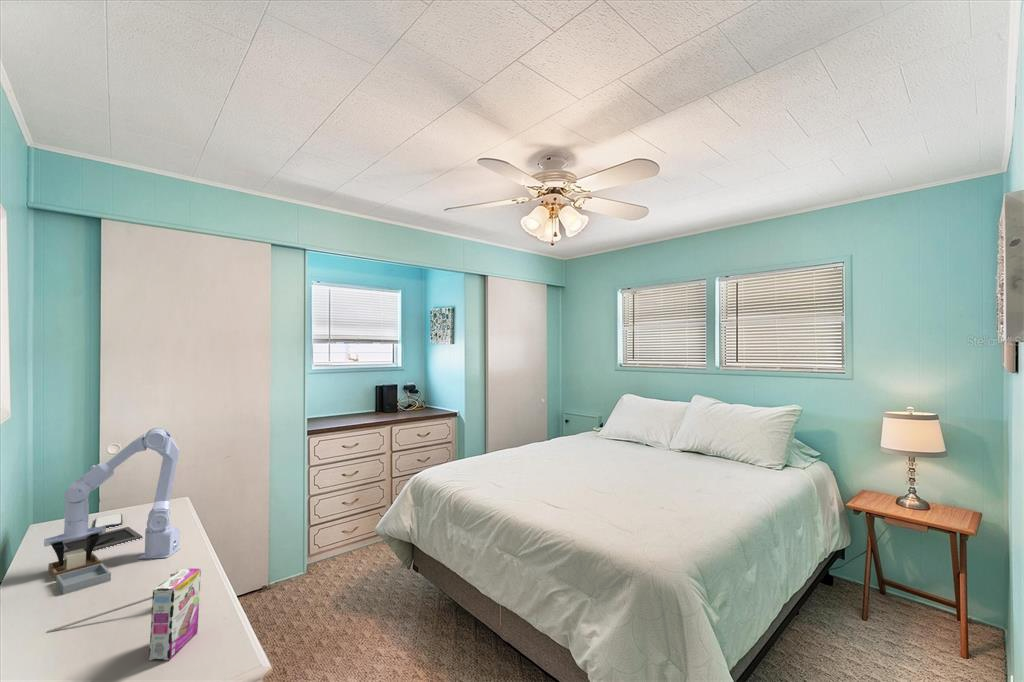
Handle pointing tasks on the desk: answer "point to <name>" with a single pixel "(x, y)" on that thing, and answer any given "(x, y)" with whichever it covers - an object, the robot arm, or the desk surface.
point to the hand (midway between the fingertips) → (74, 561)
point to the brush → (104, 612)
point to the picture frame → (103, 540)
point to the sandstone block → (74, 559)
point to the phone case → (108, 521)
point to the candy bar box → (174, 614)
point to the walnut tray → (57, 569)
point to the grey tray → (83, 578)
